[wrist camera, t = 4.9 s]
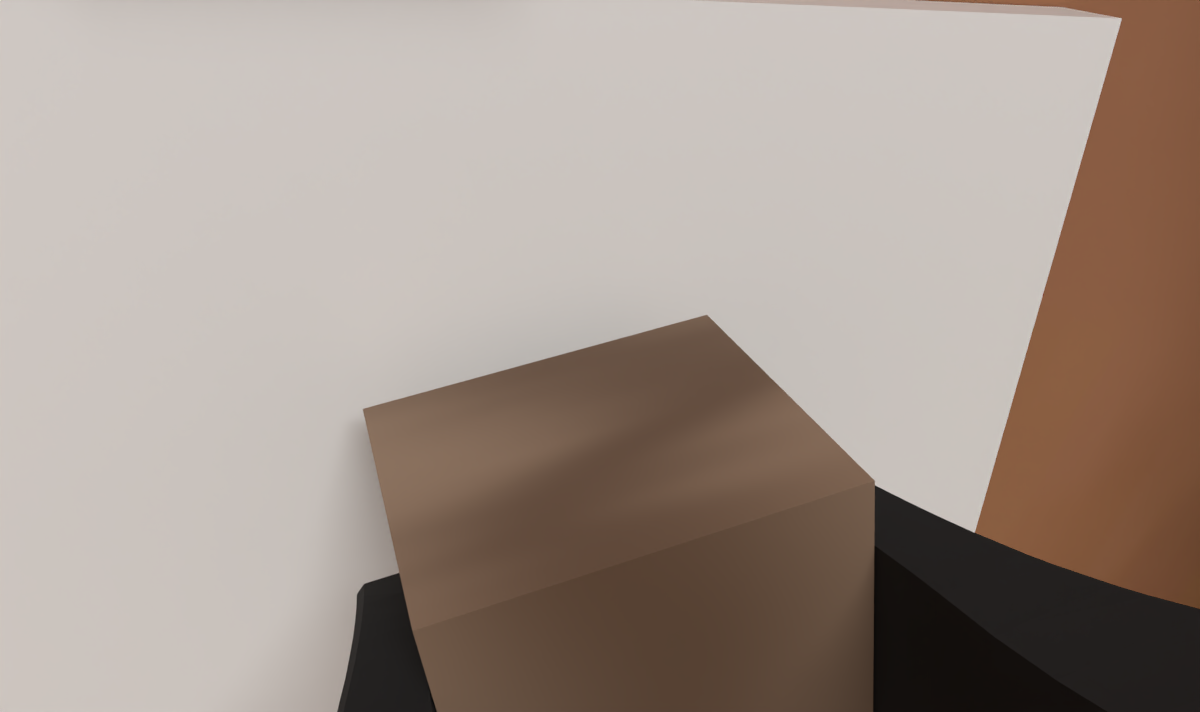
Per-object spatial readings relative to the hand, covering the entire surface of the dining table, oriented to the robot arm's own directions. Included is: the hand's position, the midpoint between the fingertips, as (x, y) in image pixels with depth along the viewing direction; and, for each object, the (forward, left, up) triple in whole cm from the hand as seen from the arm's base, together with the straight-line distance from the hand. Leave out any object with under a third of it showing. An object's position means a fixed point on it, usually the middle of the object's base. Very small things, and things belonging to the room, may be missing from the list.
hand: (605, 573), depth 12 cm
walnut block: (0, 0, -2) cm, 2 cm away
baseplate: (0, 0, -4) cm, 4 cm away
